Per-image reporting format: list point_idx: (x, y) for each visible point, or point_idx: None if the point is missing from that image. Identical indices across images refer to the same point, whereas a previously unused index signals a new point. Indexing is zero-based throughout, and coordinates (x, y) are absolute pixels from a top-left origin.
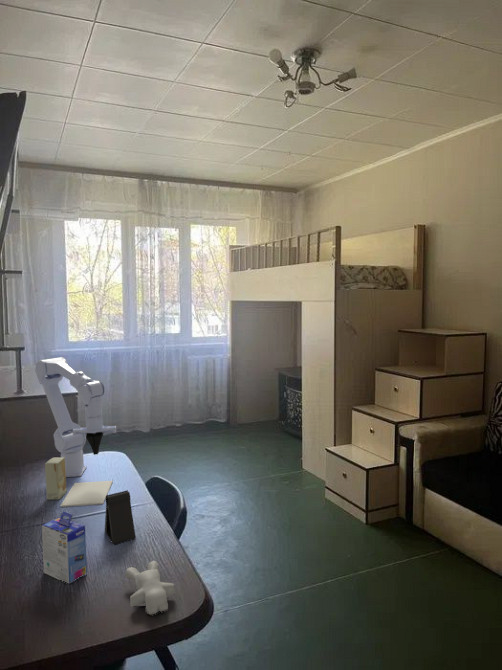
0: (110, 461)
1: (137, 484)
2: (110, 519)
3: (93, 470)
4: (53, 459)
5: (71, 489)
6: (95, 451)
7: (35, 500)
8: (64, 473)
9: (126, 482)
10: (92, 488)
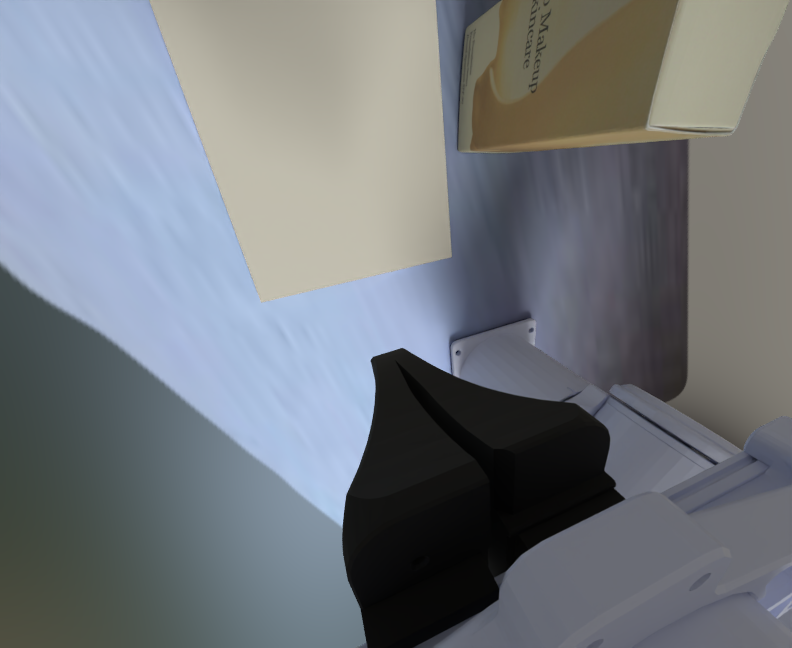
0: None
1: (59, 278)
2: None
3: None
4: (747, 38)
5: (441, 169)
6: (393, 362)
7: None
8: (534, 116)
9: (168, 302)
10: (329, 181)
